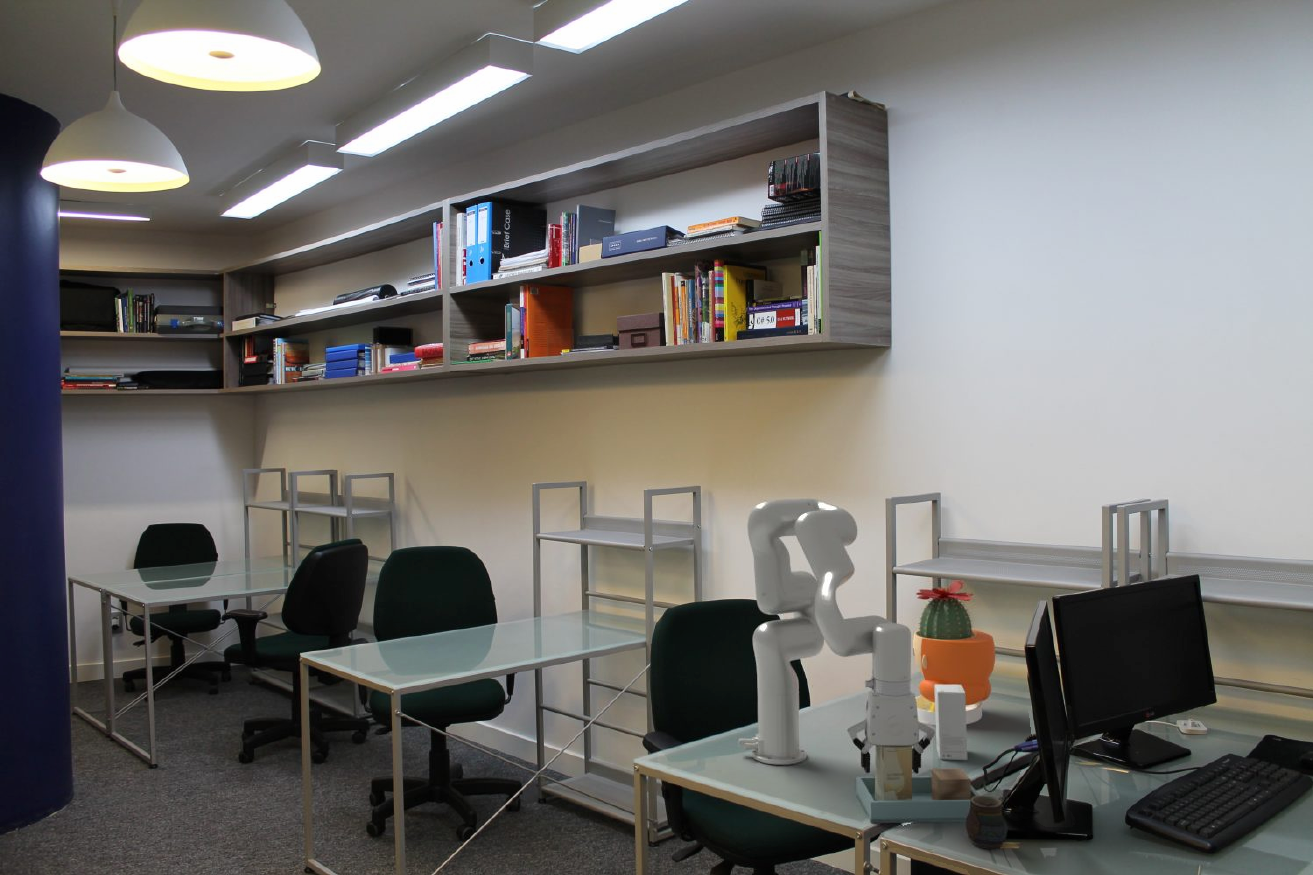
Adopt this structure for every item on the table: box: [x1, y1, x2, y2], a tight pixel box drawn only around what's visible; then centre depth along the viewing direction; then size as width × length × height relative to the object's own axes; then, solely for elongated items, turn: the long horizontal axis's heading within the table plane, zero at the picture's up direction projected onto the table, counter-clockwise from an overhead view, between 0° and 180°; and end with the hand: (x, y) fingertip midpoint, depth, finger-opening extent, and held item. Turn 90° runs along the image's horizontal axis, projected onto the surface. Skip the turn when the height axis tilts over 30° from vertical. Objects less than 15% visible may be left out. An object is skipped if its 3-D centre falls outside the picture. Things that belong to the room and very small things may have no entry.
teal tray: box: [855, 775, 981, 824], centre depth 194 cm, size 22×14×4 cm, turn 90°
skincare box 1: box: [874, 746, 913, 801], centre depth 194 cm, size 6×4×12 cm
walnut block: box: [931, 768, 972, 800], centre depth 194 cm, size 6×6×6 cm
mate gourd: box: [965, 794, 1008, 849], centre depth 177 cm, size 7×8×10 cm
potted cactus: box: [912, 580, 996, 726], centre depth 256 cm, size 22×22×35 cm
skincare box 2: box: [935, 685, 968, 761], centre depth 226 cm, size 8×7×16 cm
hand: (890, 770), depth 194 cm, fingers open, 9 cm apart
